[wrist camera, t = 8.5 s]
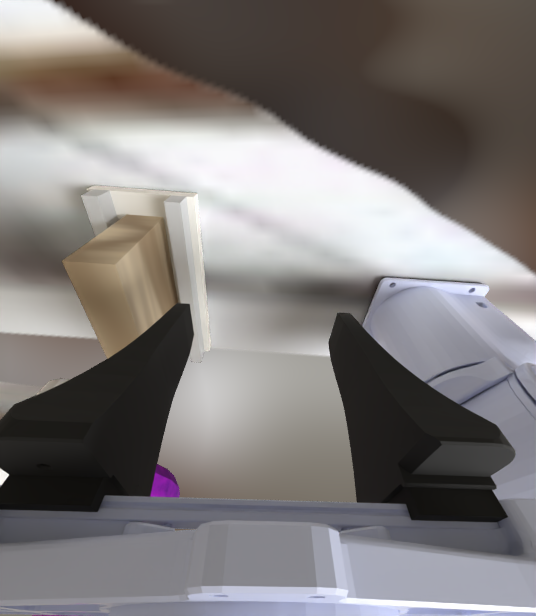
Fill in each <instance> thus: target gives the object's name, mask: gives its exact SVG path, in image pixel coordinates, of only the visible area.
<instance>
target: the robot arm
mask: <svg viewBox="0 0 536 616" xmlns="http://www.w3.org/2000/svg"><path fill="white" fill-rule="evenodd" d="M391 283H393V284H392V285H390V284H391ZM471 288H472V289H471ZM488 291H489V287H488V286H487V285H486V284H476V283H461V282H446V281H431V280H416V279H401V278H383V279H382V280H381V281H380V283H379V285H378V288H377V290H376V293H375V295H374V298H373V300H372V303H371V305H370V308H369V310H368V313H367V315H366V318H365V320H364V323H363V325H362V326H361V325H360V324H359V322H358V321H357V320H356V319H355V318H354V317H353V316H352V315H351V314H350V313H337V316H336V320H335V323H334V326H333V329H332V333H331V336H330V339H329V350H330V357H331V362H332V366H333V369H334V373H335V377H336V380H337V384H338V387H339V390H340V394H341V398H342V401H343V406H344V410H345V416H346V421H347V427H348V434H349V440H350V447H351V453H352V462H353V469H354V478H355V488H356V497H357V503H353V502H351V503H350V502H318V501H283V500H280V501H279V500H247V499H213V498H211V499H210V498H178V497H150V496H151V491H152V486H153V481H154V476H155V471H156V466H157V461H158V457H159V452H160V448H161V443H162V439H163V435H164V431H165V427H166V423H167V419H168V415H169V411H170V408H171V404H172V401H173V397H174V394H175V392H176V389H177V386H178V384H179V381H180V378H181V376H182V373H183V371H184V368H185V365H186V362H187V360H188V357H189V354H190V351H191V347H192V343H193V338H194V330H193V323H192V316H191V309H190V304H185V303H176V304H175V305H174V306H173V307H172V308H171V309H170V310H169V311H167V312H166V313H165V314H164V315H163V316H162V317H161V318H160V319H159V320H158V321H157V322H155V323H154V324H153V325H152V326H151V327H150V328H149V329H147V330H146V331H145V332H144V333H143V334H141V335H140V336H139V337H138V338H136V339H135V340H134V341H133V342H131V343H130V344H129V345H127V346H126V347H124V348H123V349H122V350H120V351H119V352H117V353H116V354H114V355H113V356H111V357H109V358H108V359H106V360H105V361H103V362H101V363H99V364H98V365H96V366H94V367H93V368H91V369H89V370H87V371H86V372H84V373H82V374H80V375H78V376H76V377H74V378H72V379H71V380H68V381H66V382H64V383H62V384H60V385H58V386H56V387H54V388H52V389H50V390H47V391H45V392H43V393H40V394H38V395H36V396H33V397H31V398H29V399H26V400H24V401H22V402H19V403H17V404H14V405H13V407H12V408H11V409H10V410H9V411H8V412H7V413H6V414H5V415H4V417H3V418H2V419H1V420H0V468H1V469H2V470H3V471H5V472H6V473H8V474H9V476H8V477H7V478H6V480H5V481H4V483H3V484H2V485H0V614H27V615H68V616H536V341H535V340H534V339H533V338H532V337H530V336H529V335H528V334H527V333H526V332H525V331H523V330H522V329H521V328H520V327H519V326H518V325H516V324H515V323H514V322H513V321H512V320H511V319H509V318H508V317H507V316H506V315H505V314H504V313H502V312H501V311H500V310H499V309H498V308H497V307H495V306H494V305H493V304H492V303H491V302H490V301H488V300H487V299H486V298H485V297H484V296H485V295H486V294H487V292H488ZM174 528H177V529H178V528H179V529H195V530H182V531H175V530H174ZM339 532H340V534H339Z"/></svg>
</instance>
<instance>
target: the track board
mask: <svg viewBox="0 0 536 616" xmlns="http://www.w3.org/2000/svg"><path fill="white" fill-rule="evenodd" d="M81 198H82V200H83V203H84V206H85V209H86V212H87V215H88V217H89V220H90V223H91V226H92V229H93V231H94V234H95V237H96V236H97V235H99V234H100V233H102V232H103V231H104V230H106V229H107V228H109V227H110V226H111V225H113V224H114V223H116V222H117V221H118V220H120V219H121V218H123V217H124V216H125V215H127V214H128V215H141V216H155V217H164V223H165V229H166V235H167V240H168V246H169V252H170V257H171V263H172V269H173V274H174V280H175V286H176V291H177V297H178V303H185V304H190V309H191V316H192V323H193V330H194V338H193V343H192V347H191V351H190V359H191V362H200V363H201V362H202V358H203V354H204V351H210V347H211V338H210V327H209V316H208V305H207V294H206V283H205V272H204V261H203V250H202V238H201V227H200V216H199V205H198V194H197V193H187V192H174V191H161V190H148V189H136V188H123V187H110V186H97V185H94V186H92V187H89V188H87V193H85V194H82V195H81Z"/></svg>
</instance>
